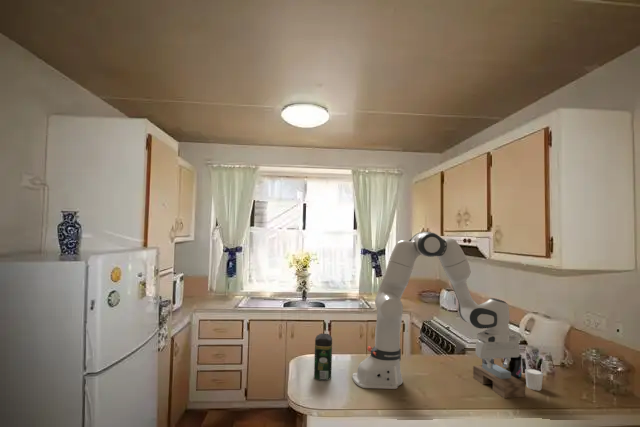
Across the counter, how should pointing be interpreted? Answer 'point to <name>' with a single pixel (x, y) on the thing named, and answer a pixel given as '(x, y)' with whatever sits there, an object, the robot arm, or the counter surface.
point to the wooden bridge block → (500, 383)
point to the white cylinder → (534, 379)
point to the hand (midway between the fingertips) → (497, 367)
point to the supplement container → (515, 367)
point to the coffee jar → (323, 357)
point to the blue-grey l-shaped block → (496, 370)
